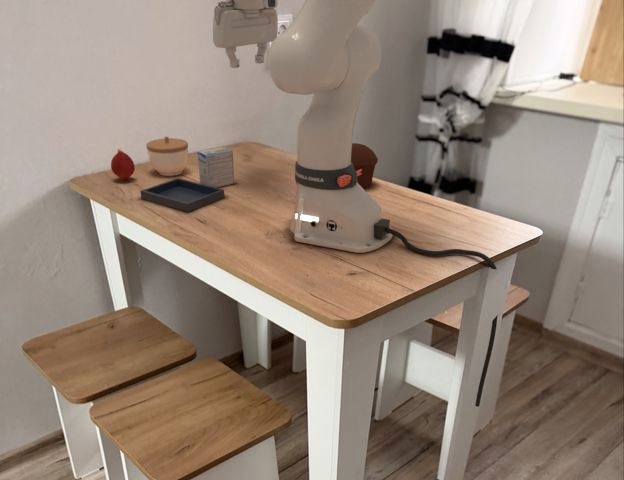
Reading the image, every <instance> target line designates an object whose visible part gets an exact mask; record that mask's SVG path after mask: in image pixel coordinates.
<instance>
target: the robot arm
mask: <svg viewBox="0 0 624 480" xmlns="http://www.w3.org/2000/svg"><path fill="white" fill-rule="evenodd" d="M377 2H378V0H305V1H304V3H303V4H302V6H301V7H300V10H299V11H298V12H297V14H296V16H294V19H293V20H292V22H290V24H289V25H288V26H287V27H286V29H285V30H284V31H282V32H281V33H280V34H279V33H278V32H279V20H278V11H277V10H276V8H277V7H278V0H225V1H221V0H220V1H218V2H217V4H216V5H215V7H214V8H213V9H214V10H213V17H212V18H213V19H212V42H213V44H214V47H216V48H219V49H225V54H226V56H227V57H228V59H229V67H230V68H231V69H238V68H240V66H241V65H240V58H239V59H238V57H237V55H236V52H237V48H238V47H243V46H251V45H256V47H257V48H258V49H257V51H256V54H255V55H254V62H255V64H259V65H260V64H264V63H265V54H266V51H267V48H268V43H271V45H270V46H269V50H268V54H267V69H268V73H269V76H270V78H271V80H272V83H274V85H275V86H276V87H277V88H278V89H279V90H280V91H282V92H284V93H286V94H292V95H293V94H294V95H302V96H307V95H312V98H311V101H310V103H309V105H308V107H307V109H306V110H305V111H304V113H303V114H302V115H301V116H300V118H299V119H298V123H297V127H296V155H297V156H296V161H295V163H294V164H295V165H294V181H295V185H296V189H295V200H294V206H293V213H292V216H291V220H290V221H291V222H290V224H289V230H290V232H291V233H292V234H293V236H294V237H293V240H294V241H295V242H298V243H302V244H309V245H313V246H319V247H324V248H329V249H334V250H341V251H346V252H351V253H352V252H353V253H356V254H364V253H368V252H372V251H375V250H377V249H379V248H382V247H383V246H384V245H386V244H387V243H388V242H390V241H391V240H392V239H393V236H395V237H397V238H398V239H399V240H400V241H401V242H402V243H403V245H404V246H405V247H406V248H408V249H409V250H411V251H413V252H414V253H416V254H421V255H425V256H430V257H431V256H433V257H440V256H447V255H464V256H465V255H466V256H472V257H477V258H479V259H481V260H483V261H484V262H485V263H486V264H487V265H488V267H489V268H490V269H492V270H498V268H497V265H496V264H495V263H494V262H493V260H492V259H491V258H490V257H489V256H488V255H486V254H484V253H482V252H480V251H476V250H469V249H462V248H450V249H443V250H429V249H423V248H419V247H416V246H415V245H413V244H412V243H410V242H409V241H408V240H407V237H406V236H404V235H403V233H400V232H399V231H397V230H394V229H393V228H392V227H390V224H391V220H390V219H386V218H384V217H383V210H382V207H381V206H380V204H379V202H377V201H376V200H375V199H374V198H373V197H372V196H371V195H370V194H369V193H368V192H367V191H366V189H363V188H362V187H361V186H360V185H359V184H358V183H357V182H358V180H357V176H359V175H361V174H362V173H360V172H361V171H362V169H360V170H358V171H355V169H354V167H353V164H352V162H351V152H352V143H353V137H354V128H355V121H356V116H357V112H358V109H359V106H360V104H361V101H362V98H363V95H364V92H365V90H366V88H367V86H368V84H369V82H370V81H371V79H372V78H373V76H374V75H375V74H376V73H377V71H378V70H379V68H380V64H381V60H382V47H381V43H380V40H379V38H378V36H377V35H376V33H374V31H373V30H371V29H369V28H368V27H364V26H362V25H358V24H359V23H360V22H361V21H362V19H363V18H364V17H365V16H367V15H368V14H369V13H370V12H371V11H372V9H374V7H375V6H376V4H377ZM278 34H279V35H278ZM359 173H360V174H359ZM498 316H499V315H498V314H497V315H496V316H495V317H493V320H492V321H491V327H490V329H491V330H490V334H489V341H488V345H487V350H486V355H485V359H484V363H483V366H482V372H481V376H480V379H479V380H480V381H479V384H478V388H477V393H476V399H475V405H474V406H475V407H477V408H478V407H480V405H481V400H482V396H483V395H482V394H483V390H484V385H485V380H486V378H487V373H488V369H489V364H490V362H491V356H492V354H493V353H492V352H493V348H494V344H495V343H494V342H495V337H496V331H497V325H498Z"/></svg>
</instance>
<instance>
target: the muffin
mask: <svg viewBox="0 0 624 480" xmlns="http://www.w3.org/2000/svg"><path fill="white" fill-rule="evenodd" d="M351 162H352V164H353V167H354V169H355V171H358V170H360V169H362V171H361V172H360V173H362V174H361V175H359V176H357V180H358V182H357V183H358V184H359V185H360V186H361V187H362V188H363V189H364V190H366V189H370V188H371V186H372V182H373V177H374V173H375V169H376V165H377V163H378V162H379V158H378V157H377V155H376V153H375V152H374V150H373V149H371V148H370V147H368V146H367V145H366V144H364V143H363V144H362V143H358V142H355V143H354V142H352V152H351ZM360 173H359V174H360Z"/></svg>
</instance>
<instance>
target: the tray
mask: <svg viewBox="0 0 624 480" xmlns="http://www.w3.org/2000/svg"><path fill="white" fill-rule="evenodd" d="M139 191H140V196H141V197H140V199H141V200H144V201H147V202H151V203H155V204H159V205H161V206H164V207H168V208H171V209H174V210H178V211H181V212H186V213H190V212H193V211H196V210H198V209H200V208H201V209H202V208H203V207H205V206H208V205H210V204H213V203H215V202H218V201H220V200H222V199H223V200H224V199H225V198H226V197H225V189H223V188H220V187H217V188H215V187H212V186H208V185H204V184H200V182H195V181H192V180H188V179H184V178H180V177H176V178H173V179H171V180H168V181H165V182H162V183H159V184H156V185H153V186H150V187H148V188H144V189H142V190H139Z"/></svg>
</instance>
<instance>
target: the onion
mask: <svg viewBox="0 0 624 480" xmlns="http://www.w3.org/2000/svg"><path fill="white" fill-rule="evenodd" d="M135 167H136V166H135V162H134V160H133V159H132V157H130V156H129V154H128V153H125V152H124V151H123V150H122V149H121V148H118V149H117V152H116V154H115V155H114V156H113V157H112V158H111V161H110V169H111V171H112V173H113V174H114V175H115V176H116V177H118V178H119V179H121V181H127V180H128V179H130V177H132V175H133V174H134V172H135Z"/></svg>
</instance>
